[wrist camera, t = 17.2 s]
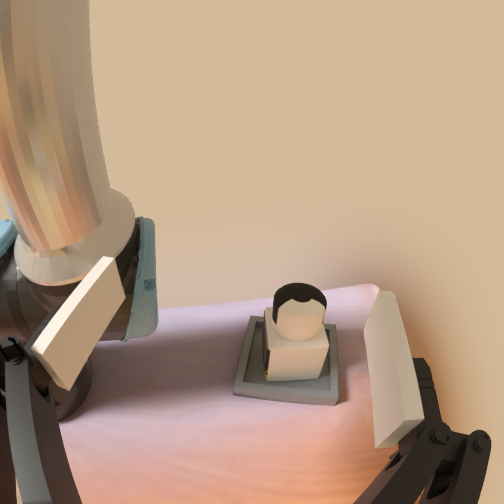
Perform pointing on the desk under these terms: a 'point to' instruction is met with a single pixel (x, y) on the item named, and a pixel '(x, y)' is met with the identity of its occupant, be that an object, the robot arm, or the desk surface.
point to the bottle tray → (295, 391)
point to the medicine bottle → (294, 334)
